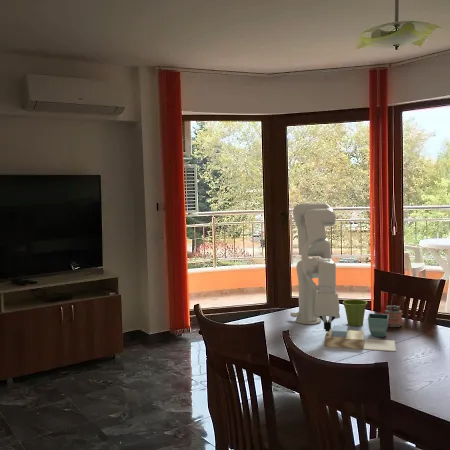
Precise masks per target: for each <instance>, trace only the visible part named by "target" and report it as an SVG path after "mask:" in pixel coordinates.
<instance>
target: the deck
mask: <svg viewBox="0 0 450 450" xmlns="http://www.w3.org/2000/svg"><path fill="white" fill-rule="evenodd" d="M332 330H333V328H331V329H330V331H329V332H328V331H327V332H325V335H324V347H326V348H337V349H338V348H339V349H340V348H342V349H356V350H357V349H358V350H364V344H365V331H364V330H351V329H348V333H347V337H332Z"/></svg>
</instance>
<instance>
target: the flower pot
mask: <svg viewBox="0 0 450 450" xmlns="http://www.w3.org/2000/svg"><path fill="white" fill-rule="evenodd" d="M388 317H389V315H385V313H384V314H382V313H381V314H380V313H368V316H367V323H368V330H369V332H370V335H371V336H372V337H378V338H379V337H380V338H384V337H385V336H386V334H387V331H388Z"/></svg>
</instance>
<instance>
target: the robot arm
mask: <svg viewBox="0 0 450 450" xmlns="http://www.w3.org/2000/svg"><path fill="white" fill-rule="evenodd" d="M292 212H293V219H294V222H295V225H296V228H297V239H298V242H297V244H298V253H299V255H300V256H301V259H300V260H299V261H298V262H297V264H296V273H297V274H296V275H297V283H298V311H297V312H290V313H289V314H290V317H292V318H295V322H297V323H299V324H302V325H317V324H320V323H323V330H325V333H326V332H327V331H328V332H329V331H330V329H332V322H333V321H334V320H336V319H340V318H341V315H340V301H339V300H340V299H339V294H338V292H337V269H336V268H337V267H336V263H335V261H334V260H333V259H332V251H331V250H332V248H331V247H332V246H331V243H330V240H329V239H328V238H327V233H326V229H325V228H326V227H333V226H335V224H336V214H335V211H334V210H333V208H332V207H331V206H330V205H329V204H328V203H326V202H313V203H312V202H311V203H310V202H309V203H307V202H306V203H299V204H296V205H295V206H294V207H293V211H292ZM309 257H310V258H309ZM311 257H313V258H311ZM315 257H319V258H315ZM313 279H317V281H318V282H317V284H318V285H317V284H316V282H315V281H314V280H313ZM327 317H328V320H327Z"/></svg>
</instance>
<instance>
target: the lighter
mask: <svg viewBox="0 0 450 450" xmlns="http://www.w3.org/2000/svg"><path fill="white" fill-rule="evenodd" d="M384 314H385V315H389V317H388V327H389V326H390V327H389V328H397V327H398V328H399V327H400V326H402V327H403V317H402V315H403V310H401V309H400V305H395V304H394V305H386V308H385V310H384ZM388 327H387V328H388Z"/></svg>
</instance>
